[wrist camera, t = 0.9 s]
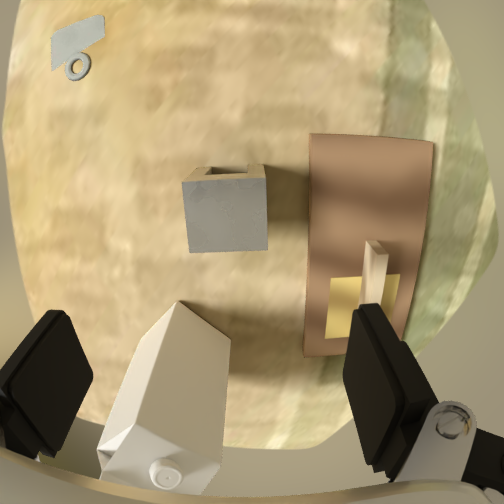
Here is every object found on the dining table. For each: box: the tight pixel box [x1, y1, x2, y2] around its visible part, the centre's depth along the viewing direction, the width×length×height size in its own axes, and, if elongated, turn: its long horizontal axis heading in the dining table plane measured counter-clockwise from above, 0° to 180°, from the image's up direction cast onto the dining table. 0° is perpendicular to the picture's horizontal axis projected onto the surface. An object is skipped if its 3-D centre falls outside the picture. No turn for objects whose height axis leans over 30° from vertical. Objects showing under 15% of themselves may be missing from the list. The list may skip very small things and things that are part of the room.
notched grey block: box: [182, 164, 268, 253], centre depth 24 cm, size 5×5×6 cm
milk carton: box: [97, 301, 231, 495], centre depth 24 cm, size 7×7×19 cm
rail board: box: [303, 134, 433, 357], centre depth 27 cm, size 22×11×4 cm, turn 2°
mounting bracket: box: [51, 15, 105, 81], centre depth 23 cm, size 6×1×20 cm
